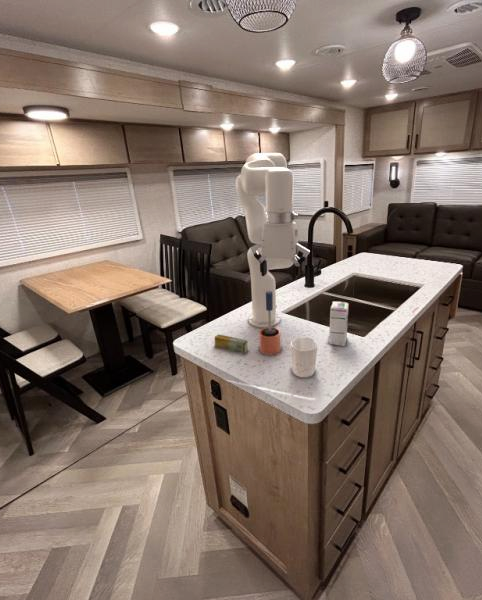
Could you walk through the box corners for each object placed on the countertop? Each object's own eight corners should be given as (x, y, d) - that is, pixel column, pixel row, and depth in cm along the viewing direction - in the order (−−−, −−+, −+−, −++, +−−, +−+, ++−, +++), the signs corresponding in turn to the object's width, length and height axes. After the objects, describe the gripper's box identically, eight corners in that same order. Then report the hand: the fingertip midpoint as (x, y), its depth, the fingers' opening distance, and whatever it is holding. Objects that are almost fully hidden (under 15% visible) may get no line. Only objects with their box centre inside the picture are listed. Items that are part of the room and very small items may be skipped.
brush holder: (264, 343, 115) (263, 325, 112) (283, 346, 113) (283, 328, 110) (256, 353, 109) (256, 335, 106) (276, 357, 106) (276, 338, 104)
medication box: (248, 350, 111) (248, 340, 109) (244, 354, 108) (244, 343, 107) (218, 343, 115) (218, 333, 113) (214, 346, 112) (213, 336, 111)
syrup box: (345, 346, 112) (348, 308, 106) (328, 344, 114) (330, 307, 108) (346, 338, 117) (349, 302, 111) (330, 336, 119) (332, 300, 113)
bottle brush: (267, 345, 113) (265, 289, 104) (277, 346, 112) (276, 290, 103) (263, 350, 110) (261, 293, 101) (273, 352, 108) (272, 294, 100)
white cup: (314, 363, 103) (315, 336, 99) (318, 379, 95) (319, 350, 91) (289, 364, 102) (289, 337, 98) (291, 379, 95) (292, 351, 91)
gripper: (313, 216, 89) (310, 274, 96) (254, 214, 93) (256, 269, 101) (307, 221, 82) (305, 283, 89) (245, 218, 87) (247, 277, 94)
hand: (279, 276), depth 95 cm, fingers open, 9 cm apart
